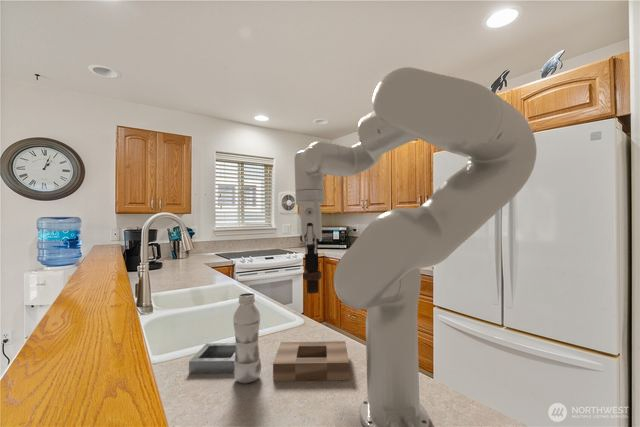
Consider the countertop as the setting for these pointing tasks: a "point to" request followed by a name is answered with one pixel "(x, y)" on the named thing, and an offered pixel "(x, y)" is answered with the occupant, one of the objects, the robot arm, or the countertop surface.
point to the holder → (213, 359)
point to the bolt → (312, 275)
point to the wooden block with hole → (311, 361)
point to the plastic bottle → (246, 340)
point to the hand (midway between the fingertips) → (312, 268)
